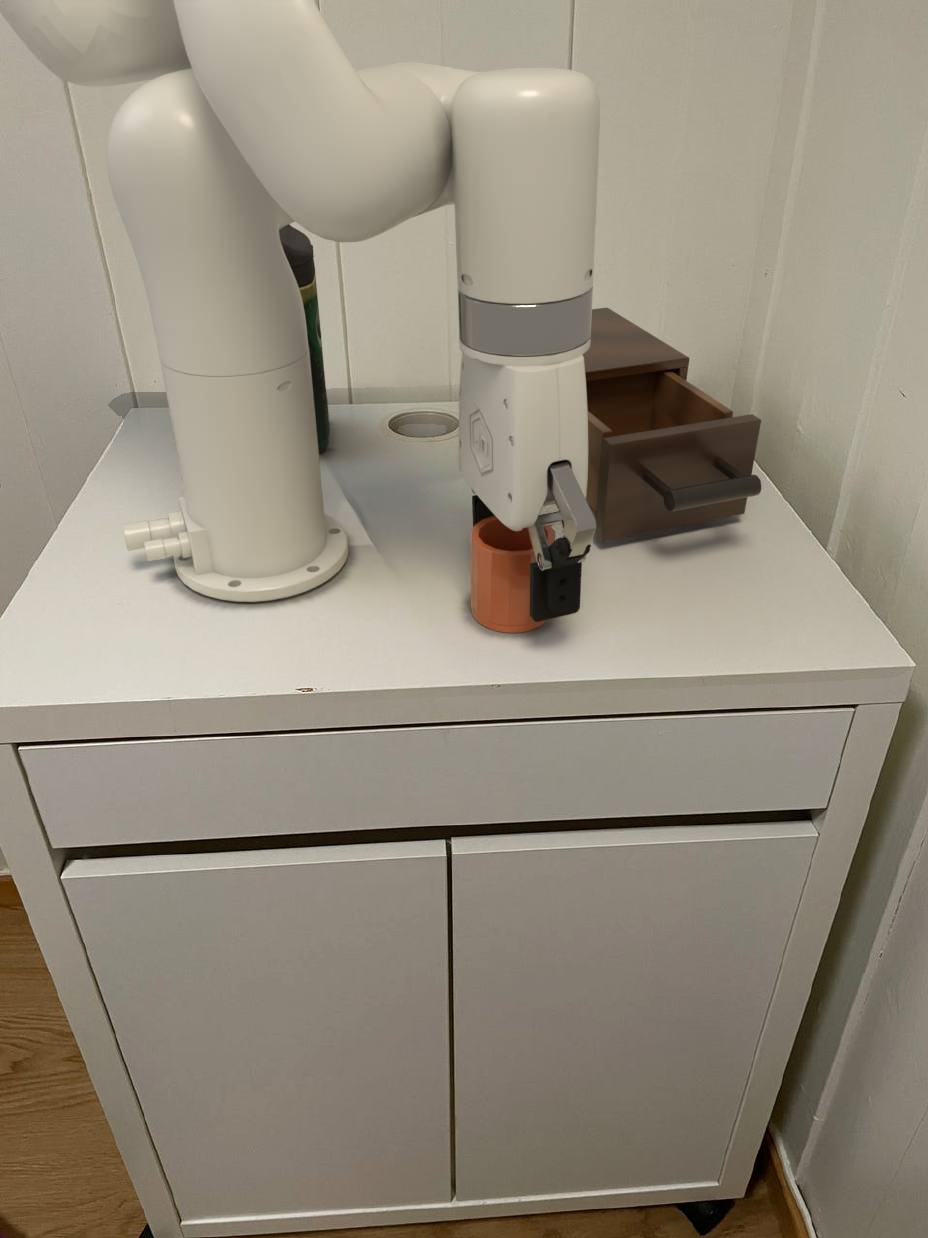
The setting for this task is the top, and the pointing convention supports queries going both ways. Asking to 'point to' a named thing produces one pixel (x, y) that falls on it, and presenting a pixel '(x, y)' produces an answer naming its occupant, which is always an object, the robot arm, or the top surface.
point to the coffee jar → (309, 320)
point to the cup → (502, 576)
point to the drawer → (664, 455)
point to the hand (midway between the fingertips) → (523, 577)
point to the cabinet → (627, 349)
